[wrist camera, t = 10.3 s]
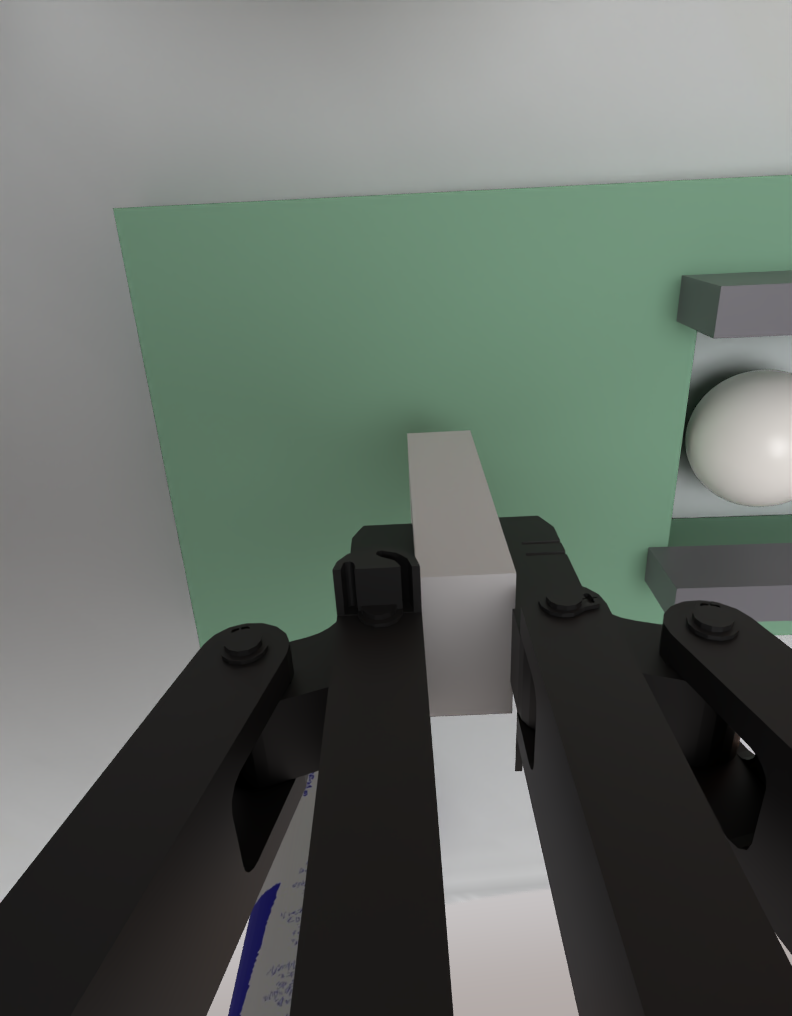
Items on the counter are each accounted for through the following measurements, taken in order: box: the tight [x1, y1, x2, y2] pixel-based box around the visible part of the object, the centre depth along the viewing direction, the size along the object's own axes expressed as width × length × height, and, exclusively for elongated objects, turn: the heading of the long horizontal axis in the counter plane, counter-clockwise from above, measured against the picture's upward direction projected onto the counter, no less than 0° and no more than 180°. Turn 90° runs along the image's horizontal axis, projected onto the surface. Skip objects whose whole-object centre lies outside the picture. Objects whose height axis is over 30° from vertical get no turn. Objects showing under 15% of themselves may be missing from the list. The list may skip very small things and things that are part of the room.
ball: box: [685, 370, 792, 507], centre depth 20 cm, size 4×4×4 cm
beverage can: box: [228, 771, 319, 1016], centre depth 22 cm, size 6×6×15 cm
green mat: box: [113, 175, 792, 648], centre depth 21 cm, size 24×14×2 cm, turn 93°
